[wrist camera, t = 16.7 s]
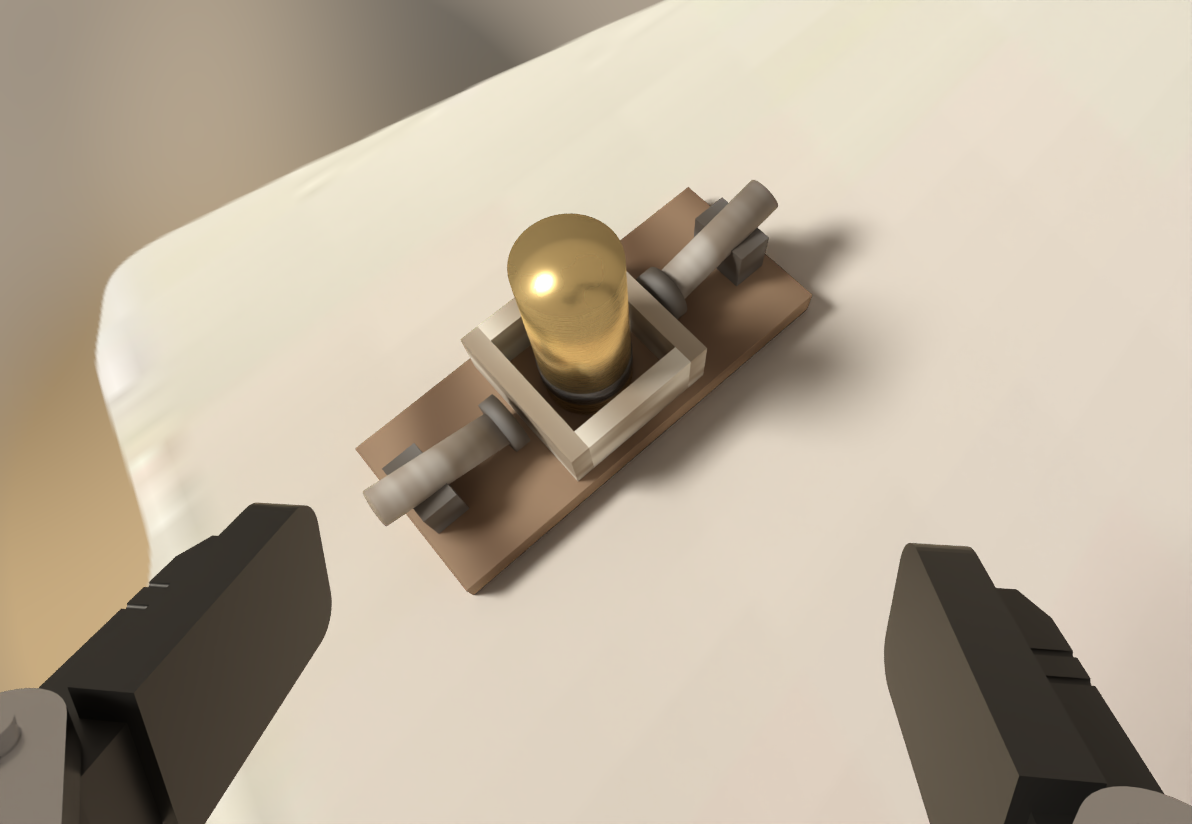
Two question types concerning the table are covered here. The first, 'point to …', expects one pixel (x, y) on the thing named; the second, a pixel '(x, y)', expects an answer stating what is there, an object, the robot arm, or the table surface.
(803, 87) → the table surface
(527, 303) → the ball
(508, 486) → the shaft rig
